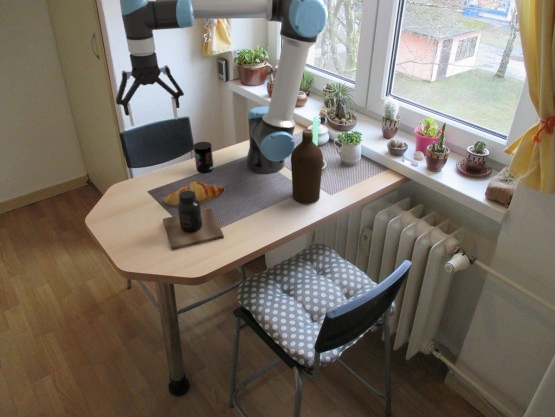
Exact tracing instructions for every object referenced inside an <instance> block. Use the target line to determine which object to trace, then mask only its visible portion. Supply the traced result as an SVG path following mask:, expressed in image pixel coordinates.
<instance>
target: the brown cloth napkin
mask: <svg viewBox="0 0 555 417" xmlns="http://www.w3.org/2000/svg"><path fill="white" fill-rule="evenodd" d="M201 217H202V227H201V229H200V230H198V231H196V232H192V233H188V232H184V231H183V230H182V229H181V226H180V220H179V214H178V215H173V216H169V217H164V218H162V222H163V227H164V229H165V232H166V237H167V240H168V243H169V247H170V249H171V251H176V250H180V249H185V248H189V247H192V246H196V245H200V244H201V245H202V244H205V243H209V242H214V241H218V240H223V239H225V235H224V233H223V231H222V229H221V227H220V224H219V223H218V221H217V218H216V216H215V215H214V212H213V209H212V208H205V209H201Z"/></svg>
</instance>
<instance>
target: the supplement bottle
mask: <svg viewBox="0 0 555 417" xmlns="http://www.w3.org/2000/svg"><path fill="white" fill-rule="evenodd" d="M201 210H202V208H201V204H200V203H199V201H198V200H197V199H196V196H195V193H194V192H193V191H183V192H181V193H180V194H179V203H178V205H177V213H178V215H179V220H180V226H181V229H182V230H183V231H184V232H188V233H192V232H196V231H198V230H200V229H201V227H202V217H201Z"/></svg>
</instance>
